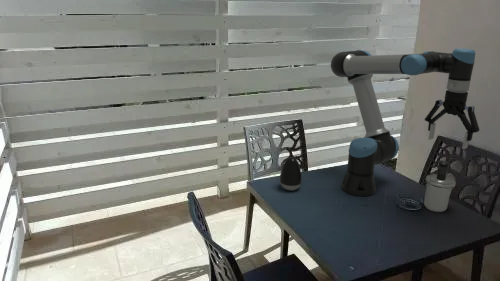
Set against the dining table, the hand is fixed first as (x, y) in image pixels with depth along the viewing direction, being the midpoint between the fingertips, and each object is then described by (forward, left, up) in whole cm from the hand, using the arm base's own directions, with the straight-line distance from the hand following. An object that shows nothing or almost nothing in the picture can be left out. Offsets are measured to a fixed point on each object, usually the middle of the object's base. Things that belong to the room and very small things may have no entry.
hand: (447, 143), depth 151 cm
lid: (0, 0, -17) cm, 17 cm away
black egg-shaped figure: (-49, -38, -28) cm, 68 cm away
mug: (+1, 0, -28) cm, 28 cm away
